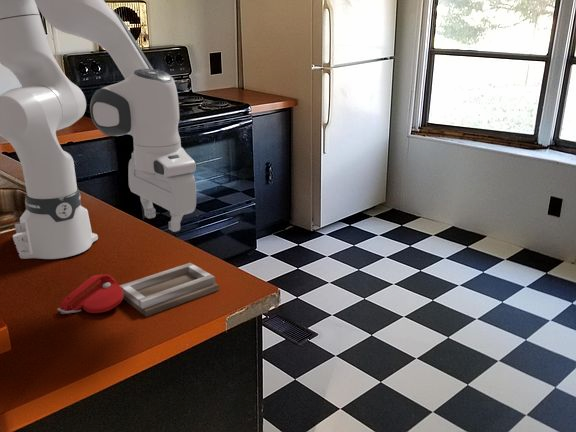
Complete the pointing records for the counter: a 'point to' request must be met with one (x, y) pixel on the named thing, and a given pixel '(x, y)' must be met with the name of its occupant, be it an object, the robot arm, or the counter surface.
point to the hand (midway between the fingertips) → (162, 223)
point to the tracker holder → (94, 296)
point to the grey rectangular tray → (168, 289)
